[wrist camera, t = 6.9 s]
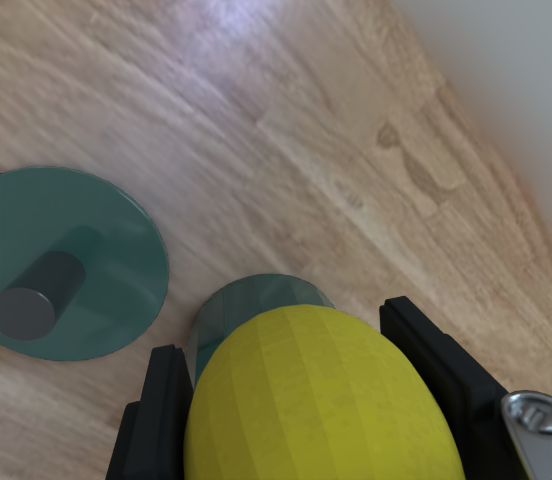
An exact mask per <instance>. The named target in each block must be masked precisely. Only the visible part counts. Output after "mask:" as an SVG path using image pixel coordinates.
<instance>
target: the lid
mask: <svg viewBox="0 0 552 480" xmlns="http://www.w3.org/2000/svg"><path fill="white" fill-rule="evenodd" d="M168 282H169V262H168V255H167V251H166V248H165V244H164V242H163V239H162V237H161V235H160V232H159V230H158V229H157V227H156V225H155V224H154V222H153V220H152V219H151V218H150V216H149V215H148V214H147V213H146V211H145V210H144V209H143V208H142V207H141V206H140V205H139V204H138V203H137V202H136V201H135V200H134V199H133V198H132V197H130V196H129V195H128V194H126V193H125V192H124V191H123V190H121V189H120V188H118V187H116V186H115V185H113V184H111V183H110V182H108V181H106V180H104V179H101V178H99V177H97V176H95V175H92V174H89V173H86V172H83V171H80V170H75V169H70V168H65V167H55V166H34V167H26V168H20V169H15V170H12V171H9V172H6V173H2V174H0V344H1V345H3V346H4V347H6V348H9V349H11V350H13V351H16V352H18V353H21V354H24V355H28V356H31V357H35V358H40V359H45V360H53V361H80V360H88V359H93V358H97V357H101V356H104V355H107V354H110V353H113V352H115V351H117V350H119V349H121V348H123V347H125V346H126V345H128V344H130V343H131V342H133V341H134V340H135V339H137V338H138V337H139V336H140V335H141V334H143V333H144V332H145V330H146V329H147V328H148V327H149V326H150V325H151V324H152V322H153V321H154V319H155V318H156V317H157V315H158V313H159V311H160V309H161V307H162V305H163V302H164V299H165V296H166V293H167V288H168Z"/></svg>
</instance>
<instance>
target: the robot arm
mask: <svg viewBox="0 0 552 480" xmlns="http://www.w3.org/2000/svg"><path fill="white" fill-rule="evenodd" d="M379 312H380V330H381V335H383V336H384V337H385V338H387V339H388V340H389V341H390V342H392V343H393V344H394V345H395V346H396V347H397V348H398V349H399V350H400V351H401V352H402V353H403V354H404V355H405V356H406V358H407V359H408V360H409V361H410V362H411V364H412V365H413V367H414V368H415V370H416V371H417V373H418V374H419V375H420V377H421V378H422V380H423V381H424V383H425V384H426V386H427V387H428V389H429V390H430V392H431V393H432V395H433V396H434V398H435V400H436V402H437V403H438V405H439V407H440V409H441V411H442V413H443V415H444V417H445V419H446V421H447V423H448V426H449V428H450V431H451V433H452V436H453V438H454V441H455V444H456V447H457V450H458V453H459V456H460V459H461V463H462V467H463V471H464V475H465V479H466V480H552V396H550V395H548V394H545V393H541V392H538V391H530V390H520V391H514V392H511V393H509V392H508V391H507V390H506V389H505V388H504V387H503V386H502V385H500V384H499V383H498V382H497V381H496V380H495V379H494V378H493V377H492V376H491V375H490V374H489V373H488V372H487V371H486V370H485V369H484V368H483V367H482V366H481V365H480V364H479V363H478V362H477V361H476V360H475V359H474V358H473V357H472V356H471V355H470V354H469V353H468V352H466V351H465V350H464V349H463V348H462V347H461V346H460V345H459V344H458V343H457V342H456V341H455V340H454V339H453V338H452V337H451V336H449V335H448V334H445V333H443V332H442V331H441V330H440V329H439V328H438V327H437V326H436V325H435V324H434V323H433V322H432V321H431V320H430V319H428V318H427V317H426V316H425V315H424V314H423V313H422V312H421V311H420V310H419V309H418V308H417V307H416V306H415V305H414V304H413V303H412V302H411V301H410V300H409V299H408V298H407V297H406V296H400V297H396V298H391V299H386V300H385V303H384V305H382V306H380V308H379ZM193 395H194V390H193V386H192V383H191V379H190V375H189V371H188V367H187V364H186V360H185V356H184V352H183V349H182V348H177V349H176V348H175V346H174V345H173V344H171V345H166V346H161V347H157V348H153V349H152V352H151V357H150V361H149V365H148V369H147V374H146V378H145V382H144V386H143V391H142V395H141V399H140V401H136V402H132V403H128V404H127V405H126V408H125V410H124V414H123V417H122V421H121V425H120V428H119V432H118V435H117V439H116V443H115V446H114V450H113V453H112V457H111V461H110V464H109V468H108V471H107V475H106V479H105V480H185V477H184V462H183V443H184V434H185V427H186V423H187V418H188V414H189V410H190V406H191V403H192V399H193Z"/></svg>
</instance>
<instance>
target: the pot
mask: <svg viewBox="0 0 552 480" xmlns="http://www.w3.org/2000/svg"><path fill="white" fill-rule="evenodd" d="M302 304H308V305H316V306H324V307H331V308H334V309H336V308H335V307H334V305H333V304H332V303H331V302H330V301H329V300H328V298H327V297H326V296H325V295H324V294H323V293H322V292H321V291H320V290H318V289H317V288H316V287H314V286H313V285H311V284H310V283H308V282H306V281H304V280H301V279H299V278H296V277H292V276H288V275H282V274H260V275H254V276H249V277H246V278H243V279H240V280H237V281H235V282H233V283H231V284H229V285H227V286H225V287H224V288H222V289H221V290H219V291H218V292H217V293H215V294H214V295H213V296H212V297H211V298H210V299H209V300H208V301H207V302H206V303H205V304H204V305H203V307H202V308H201V310H200V311H199V312H198V314H197V316H196V318H195V320H194V322H193V325H192V328H191V332H190V334H189V336H188V343H187V352H186V364H187V367H188V371H189V375H190V379H191V383H192V386H193V390H194V392H195V388H196V385H197V382H198V380H199V378H200V376H201V374H202V372H203V370H204V369H205V367H206V365H207V364H208V362H209V360H210V359H211V357H212V355H213V353H214V352H215V350H216V349H217V348H218V346H219V345H220V344H221V343H222V342H223V341H224V340H225V339H226V338H227V337H228V336H229V335H230V334H231V333H232V332H233V331H234V330H235V329H236V328H238V327H239V326H241V325H242V324H244V323H246V322H247V321H249V320H251V319H252V318H254V317H255V316H257V315H259V314H261V313H264V312H267V311H270V310H273V309H276V308H279V307H284V306H293V305H302Z"/></svg>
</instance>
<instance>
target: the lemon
mask: <svg viewBox="0 0 552 480" xmlns="http://www.w3.org/2000/svg"><path fill="white" fill-rule="evenodd" d="M183 462H184V477H185V480H466V479H465V475H464V471H463V467H462V463H461V459H460V456H459V453H458V450H457V447H456V444H455V441H454V438H453V436H452V433H451V431H450V428H449V426H448V423H447V421H446V419H445V417H444V415H443V413H442V411H441V409H440V407H439V405H438V403H437V402H436V400H435V398H434V396H433V395H432V393H431V392H430V390H429V389H428V387H427V386H426V384H425V383H424V381H423V380H422V378H421V377H420V375H419V374H418V373H417V371H416V370H415V368H414V367H413V365H412V364H411V362H410V361H409V360H408V359H407V358H406V356H405V355H404V354H403V353H402V352H401V351H400V350H399V349H398V348H397V347H396V346H395V345H394V344H393V343H392V342H390V341H389V340H388V339H387V338H385V337H384V336H383V335H381V334H380V333H379V332H378V331H376V330H375V329H374V328H372V327H371V326H370V325H368V324H367V323H366V322H364V321H362V320H361V319H359V318H357V317H354V316H352V315H349V314H347V313H344V312H342V311H339V310H337V309H334V308H331V307H324V306H316V305H308V304H302V305H293V306H284V307H279V308H276V309H273V310H270V311H267V312H264V313H261V314H259V315H257V316H255V317H254V318H252V319H251V320H249V321H247V322H246V323H244V324H242V325H241V326H239V327H238V328H236V329H235V330H234V331H233V332H232V333H231V334H230V335H229V336H228V337H227V338H226V339H225V340H224V341H223V342H222V343H221V344H220V345H219V346H218V348H217V349H216V350H215V352H214V353H213V355H212V357H211V359H210V360H209V362H208V364H207V365H206V367H205V369H204V370H203V372H202V374H201V376H200V378H199V380H198V382H197V385H196V388H195V392H194V395H193V399H192V403H191V406H190V410H189V414H188V418H187V423H186V427H185V434H184V443H183Z"/></svg>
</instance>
